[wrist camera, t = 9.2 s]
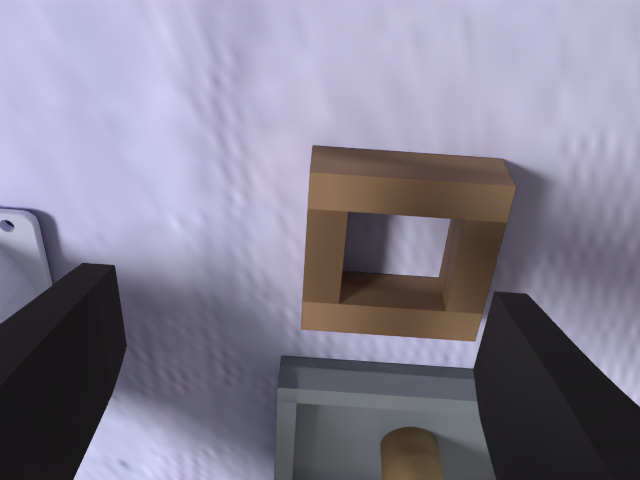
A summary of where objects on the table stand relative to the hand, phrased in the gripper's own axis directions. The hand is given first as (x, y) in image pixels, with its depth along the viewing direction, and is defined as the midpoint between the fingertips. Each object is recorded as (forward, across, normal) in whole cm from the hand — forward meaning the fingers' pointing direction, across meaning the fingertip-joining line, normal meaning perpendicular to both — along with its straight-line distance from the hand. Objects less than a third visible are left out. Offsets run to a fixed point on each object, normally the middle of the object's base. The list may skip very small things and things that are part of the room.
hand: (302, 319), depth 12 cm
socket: (+10, -3, +4) cm, 11 cm away
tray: (+10, -5, +15) cm, 19 cm away
